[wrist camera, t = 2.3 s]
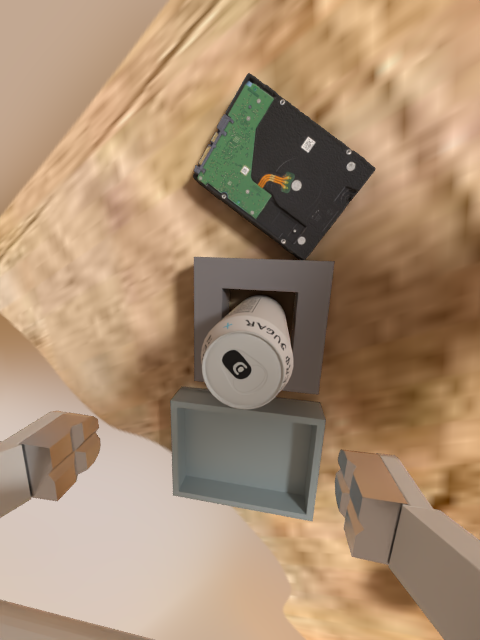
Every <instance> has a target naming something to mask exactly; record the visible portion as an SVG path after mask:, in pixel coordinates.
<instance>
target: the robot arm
mask: <svg viewBox="0 0 480 640" xmlns="http://www.w3.org/2000/svg"><path fill="white" fill-rule="evenodd" d="M98 428H99V425H98V419H97V418H95V417H94V416H88V415H81V414H75V413H67V412H61V411H53V412H49V413H48V414H46V415H45V416H43V417H41V418H40V419H38V420H37V421H35V422H33V423H32V424H30V425H28V426H27V427H25V428H24V429H22V430H20V431H19V432H17V433H16V434H14V435H12V436H11V437H9V438H7V439H6V440H5V441H3V442H1V441H0V518H1V517H2V516H4V515H6V514H7V513H9V512H10V511H12V510H14V509H16V508H17V507H19V506H21V505H22V504H24V503H25V502H27V501H29V500H30V499H31V497H33V498H40V499H47V500H53V501H58V500H59V499H60V498H61V497H62V496H63V495H64V494H65V493H66V491H68V490H69V488H70V487H71V486H72V485H73V484H74V483H75V482H76V480H77V475H78V474H80V473H81V472H83V471H85V470H87V469H88V468H89V467H90V466H91V465H92V464H93V463H94V461H95V460H96V458H97V456H98V454H99V451H100V438H99V437H98V435H97V434H96V433H95V432H96V431H97V429H98ZM338 462H339V465H340V468H341V469H340V470H339V471H338V472H337V473H336V478H335V494H336V500H337V505H338V508H339V511H340V513H341V514H342V515H343V516H344V517H345V524H344V530H345V534H346V537H347V541H348V544H349V548H350V551H351V555H352V557H356V558H360V559H365V560H369V561H374V562H378V563H383V564H387V565H389V568H390V570H391V571H392V572H393V573H394V575H395V576H396V577H397V579H398V580H399V581H400V583H401V584H402V585H403V586H404V588H405V589H406V590H407V592H408V593H409V594H410V596H411V597H412V598H413V600H414V601H415V602H416V603H417V605H418V606H419V607H420V609H421V610H422V611H423V613H424V614H425V615H426V616H427V618H428V619H429V620H430V622H431V623H432V624H433V626H434V627H435V628H436V629H437V631H438V632H439V633H440V635H441V636H442V637H443V639H444V640H480V540H478V539H477V538H476V537H475V536H473V535H472V534H471V533H469V532H468V531H467V530H465V529H464V528H463V527H461V526H460V525H459V524H457V523H456V522H455V521H453V520H452V519H451V518H449V517H448V516H447V515H446V514H444V513H443V512H442V511H440V510H435V509H433V508H432V506H431V505H430V504H429V502H428V501H427V499H426V498H425V496H424V495H423V493H422V492H421V490H420V489H419V487H418V486H417V485H416V483H415V482H414V480H413V479H412V477H411V476H410V474H409V473H408V471H407V470H406V468H405V467H404V466H403V464H402V463H401V461H400V460H399V458H398V457H396V456H395V455H387V454H378V453H376V454H373V453H365V452H357V451H350V450H342V449H341V450H340V453H339V457H338ZM0 640H153V639H150V638H146V637H142V636H138V635H135V634H131V633H127V632H123V631H119V630H115V629H111V628H108V627H104V626H100V625H96V624H92V623H88V622H84V621H80V620H76V619H73V618H69V617H65V616H61V615H57V614H54V613H50V612H46V611H42V610H38V609H34V608H30V607H26V606H23V605H19V604H15V603H11V602H7V601H3V600H0Z"/></svg>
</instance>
